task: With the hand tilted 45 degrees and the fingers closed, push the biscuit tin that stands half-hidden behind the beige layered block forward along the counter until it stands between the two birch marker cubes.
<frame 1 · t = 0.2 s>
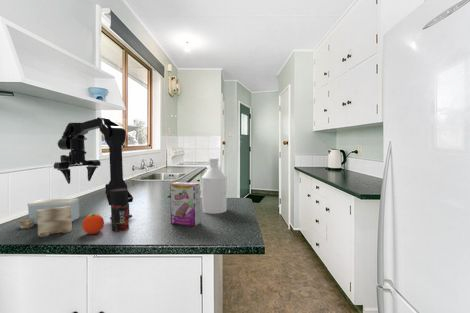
hand: (79, 182, 120), 14 cm above the countertop, tool pointing down, fingers open, 9 cm apart
beige layered block: (55, 232, 92), on the countertop
bottle: (214, 210, 121), on the countertop
candy bar box: (185, 224, 101), on the countertop
right marker cube: (51, 215, 114), on the countertop
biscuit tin: (55, 220, 107), on the countertop
deodorant: (120, 229, 95), on the countertop
clementine: (92, 233, 91), on the countertop
left marker cube: (27, 226, 99), on the countertop
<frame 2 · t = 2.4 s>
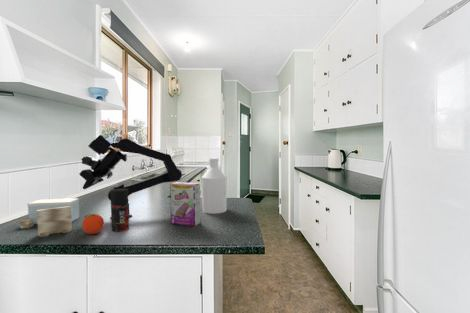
hand: (83, 188, 108), 13 cm above the countertop, tool tilted 45°, fingers closed
nothing on the countertop moved.
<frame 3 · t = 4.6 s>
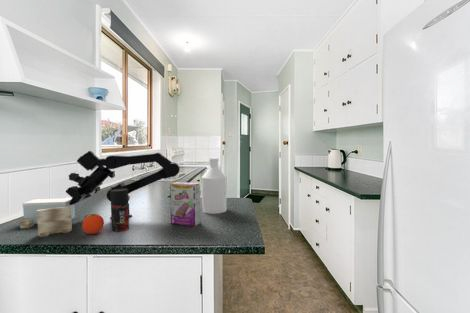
hand: (70, 204, 107), 7 cm above the countertop, tool tilted 45°, fingers closed, pressing on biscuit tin
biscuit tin: (50, 220, 107), on the countertop, touching gripper
everything else where it was.
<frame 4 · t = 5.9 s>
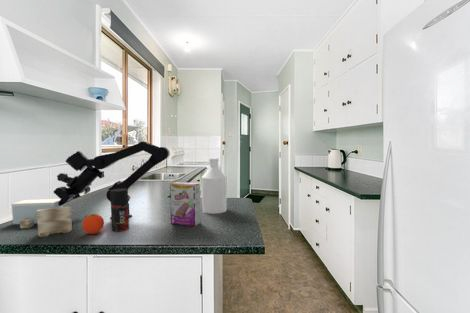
hand: (59, 205, 107), 7 cm above the countertop, tool tilted 45°, fingers closed
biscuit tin: (39, 221, 107), on the countertop
everything else where it was.
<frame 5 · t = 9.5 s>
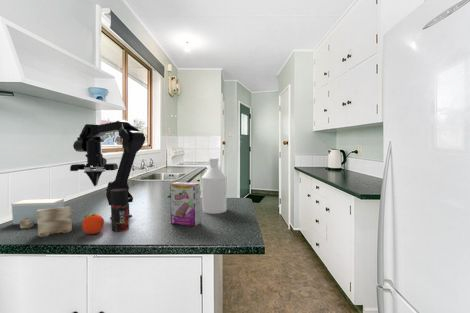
hand: (95, 185, 116), 13 cm above the countertop, tool pointing down, fingers closed
nothing on the countertop moved.
at the end: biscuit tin inside the target area (0.2 cm from its centre), on the countertop; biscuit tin moved 6.3 cm from its start; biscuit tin tilted 0° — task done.
